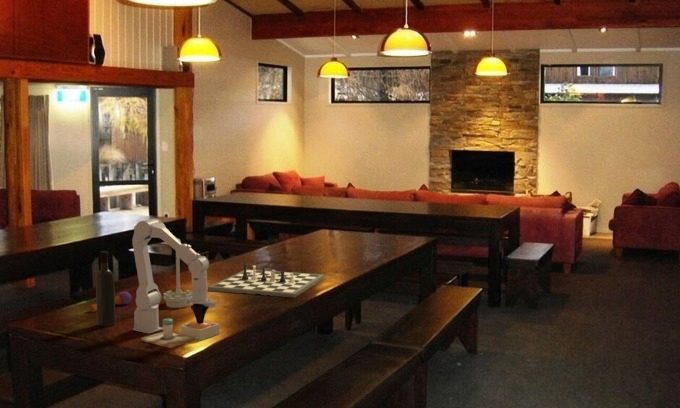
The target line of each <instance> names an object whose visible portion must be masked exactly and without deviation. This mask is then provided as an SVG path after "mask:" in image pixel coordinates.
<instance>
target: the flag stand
mask: <svg viewBox="0 0 680 408" xmlns="http://www.w3.org/2000/svg"><path fill="white" fill-rule="evenodd" d="M177 239H178V240H179V241H180V242H182V241H181V239H180V238H177ZM180 262H181V261H180V258H179V257H178V256H177V255H176V254H175V272H176V276H175V277H176V279H175V280H176V281H175V282H176V289H175V292H173V290H167V291H166V292H164V293H163V300H164V301H165V304H166V305H165V306H166V307H167V308H173V309H174V308H175V309H176V308H179V309H180V308H186V307H189V306H190V307H191V306H192V303H185V297H192V289H191V290H190V289H186V290H185V291H182V289H181V277H180V276H181V274H180V270H181V269H180V268H181V266H180Z"/></svg>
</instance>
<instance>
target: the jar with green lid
mask: <svg viewBox="0 0 680 408" xmlns="http://www.w3.org/2000/svg"><path fill="white" fill-rule="evenodd" d="M173 321H174V319H173V318H169V317H168V318H163V319H162V328H163V329H162V332H163V339H172V338H173V333H174V330H173V329H174V328H173V327H174V326H173V325H174V322H173Z"/></svg>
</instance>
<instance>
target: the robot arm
mask: <svg viewBox="0 0 680 408" xmlns="http://www.w3.org/2000/svg"><path fill="white" fill-rule="evenodd" d="M133 231H134V232H133V235H132V239H131V242H132V250H133V255H134V260H135V268H136V272H137V280H138V287H137V289H136V292H135V293H136V296H135V297H136V298H135V305H136V309H135V310H134V313H133V324H134V325H133V328H132V331H137V332H139V333H140V332H141V333H144V334H152V333H155V332H158V331H163V326H161V327H160V322H159V320H160V319H159V317H160V316H159V304H160V302H161V301H162V294H161V292H160V291H159V287H158V285H157V284H156V283H155V282H154V277H153V271H152V266H151V265H152V264H151V260H150V253H149V247H148V243H149V242H150V241H151V239H152V238H158V239H161V240H162V241H163V242H164V243H165V244H167V245H168V246H170V247H171V248H172V249H173V250H174V251H175V256H176V255H177V256H178V257H179V260H181V261H182V262H183V263H185V264H186V265H187V266H188V270H189V272H190V273H191V292H192V297H185V303H191V305H190V309H191V310H192V313H194V317H195V321H197V323H198V324H201V323H203V321H204V320H205V317H206V314H207V311H208V309H209V308H211V309H212V308H216V301H213V300H212V299H208V269H209V268H210V262H209V259H208V258H207V257H206V256H204V255H201V254H200V253H199V252H196V250H194V249H193V248H192V245H190V244H187V243H181V242H182V241H181V240H180V241H181V242H180V241H179V240H178V239H179V238H178V237H176V236H175V235H173V233H172V232H170V230H169V229H168V228H167V227H166V225H165V224H164V222H161V220H160V219H159V218H155V217H152V218H149V219H145V220H140V221H138V222H137V223H136V224H135V226H134V227H133Z"/></svg>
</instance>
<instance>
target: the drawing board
mask: <svg viewBox="0 0 680 408" xmlns="http://www.w3.org/2000/svg"><path fill="white" fill-rule="evenodd" d="M140 341H141V342H146V343H149V344H154V345H157V346H159V347H160V346H161V347H164V348H165V347H166V348H169V349H171V348H174V347H177V346H181V345H183V344H187V343H189V342H192V341H195V339H194V338H192V337H188V336H184V335H181V333H180V334H179V333H175V332H173V338H172V339H163V331H161V332H157V333H154V334H150V335H148V336H144V337H141V338H140Z"/></svg>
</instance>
